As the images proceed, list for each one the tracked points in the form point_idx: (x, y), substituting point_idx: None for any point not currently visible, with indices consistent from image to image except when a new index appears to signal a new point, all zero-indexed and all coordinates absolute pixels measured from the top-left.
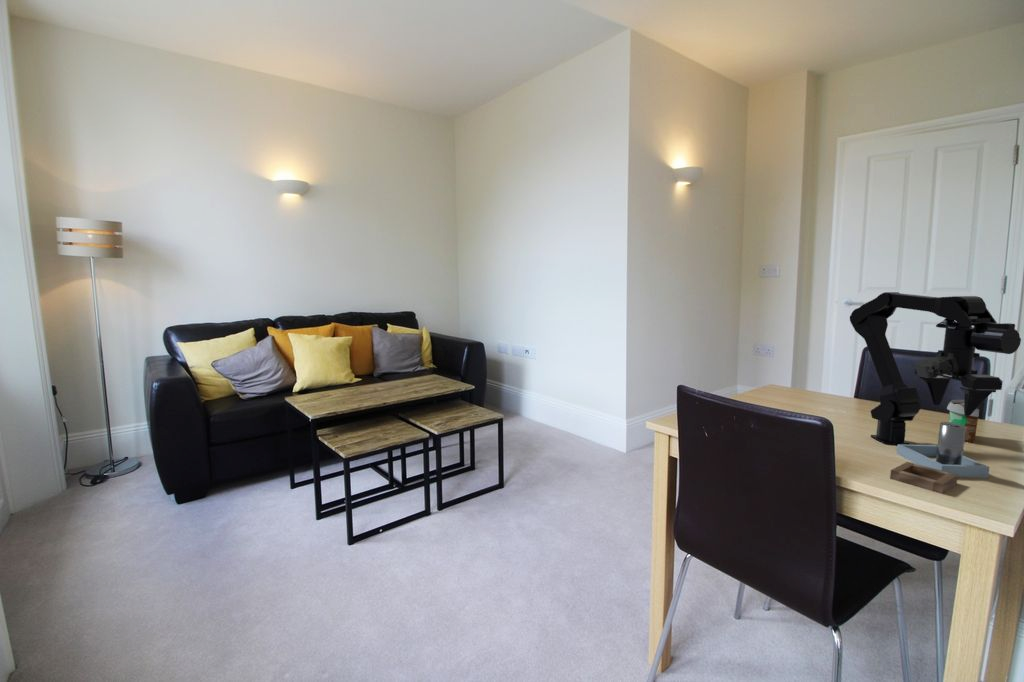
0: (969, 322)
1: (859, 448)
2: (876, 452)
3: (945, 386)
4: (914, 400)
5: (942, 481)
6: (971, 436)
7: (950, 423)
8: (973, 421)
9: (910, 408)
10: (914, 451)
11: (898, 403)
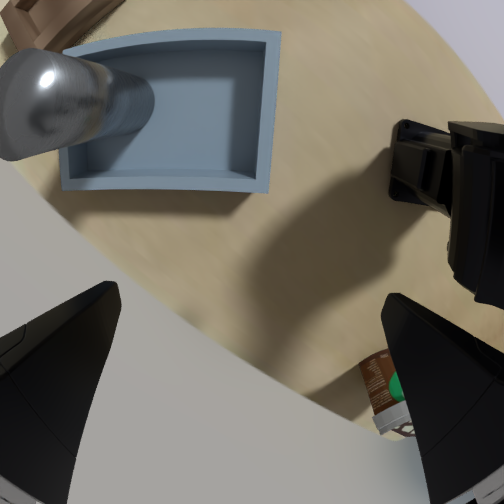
0: None
1: (362, 5)
2: (326, 23)
3: (426, 447)
4: (492, 263)
5: (8, 17)
6: (368, 371)
7: (34, 106)
8: (378, 401)
9: (465, 218)
10: (192, 35)
11: (498, 151)
